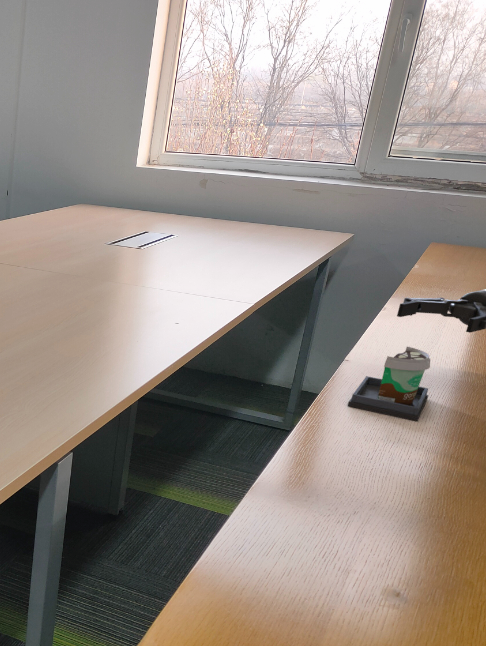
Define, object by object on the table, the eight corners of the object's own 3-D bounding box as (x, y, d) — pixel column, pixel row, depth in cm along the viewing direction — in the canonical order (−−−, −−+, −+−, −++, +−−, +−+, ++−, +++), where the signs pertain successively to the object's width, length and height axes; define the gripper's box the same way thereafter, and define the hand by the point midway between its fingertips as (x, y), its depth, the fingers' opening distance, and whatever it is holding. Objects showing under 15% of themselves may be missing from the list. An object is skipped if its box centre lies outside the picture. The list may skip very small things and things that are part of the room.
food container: (407, 413, 156) (421, 364, 152) (373, 404, 160) (386, 356, 156) (427, 400, 163) (441, 353, 160) (395, 391, 168) (407, 345, 164)
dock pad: (427, 399, 167) (430, 388, 166) (417, 421, 154) (420, 409, 154) (361, 386, 174) (364, 375, 173) (347, 406, 161) (350, 394, 160)
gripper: (542, 338, 166) (495, 351, 155) (418, 311, 185) (369, 321, 174) (554, 302, 163) (507, 313, 152) (427, 279, 182) (377, 287, 171)
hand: (433, 317), depth 163 cm, fingers open, 13 cm apart
